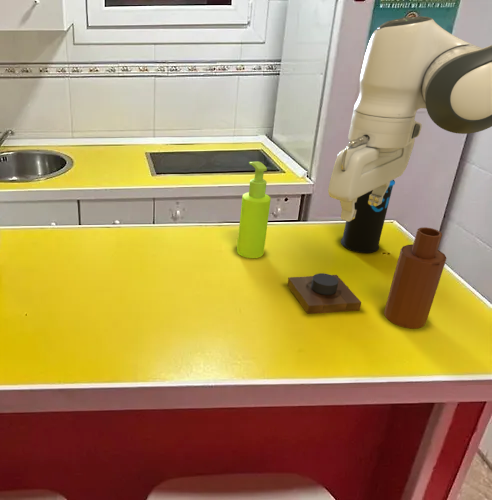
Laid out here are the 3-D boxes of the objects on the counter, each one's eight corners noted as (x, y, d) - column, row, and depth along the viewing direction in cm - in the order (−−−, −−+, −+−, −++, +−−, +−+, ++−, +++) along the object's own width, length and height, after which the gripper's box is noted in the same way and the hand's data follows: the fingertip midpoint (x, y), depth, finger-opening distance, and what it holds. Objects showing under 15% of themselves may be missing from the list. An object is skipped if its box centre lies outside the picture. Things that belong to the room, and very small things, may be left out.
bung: (328, 290, 101) (331, 272, 99) (338, 303, 97) (342, 285, 95) (305, 291, 101) (308, 273, 99) (315, 304, 97) (319, 286, 95)
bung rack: (335, 282, 104) (336, 274, 103) (359, 310, 95) (361, 302, 94) (287, 285, 103) (288, 277, 102) (307, 314, 94) (309, 305, 93)
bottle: (411, 305, 96) (436, 222, 89) (434, 327, 91) (462, 240, 83) (377, 307, 96) (398, 224, 88) (397, 330, 90) (422, 242, 82)
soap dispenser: (256, 243, 119) (266, 158, 110) (267, 257, 113) (279, 169, 104) (231, 244, 118) (239, 160, 109) (241, 259, 112) (251, 170, 103)
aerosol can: (333, 244, 119) (350, 159, 109) (351, 233, 124) (369, 152, 114) (368, 257, 113) (389, 169, 104) (385, 245, 118) (406, 161, 109)
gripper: (367, 147, 73) (348, 236, 79) (426, 123, 85) (405, 202, 91) (326, 137, 77) (311, 222, 83) (388, 116, 89) (371, 192, 95)
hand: (361, 211), depth 87 cm, fingers open, 8 cm apart
